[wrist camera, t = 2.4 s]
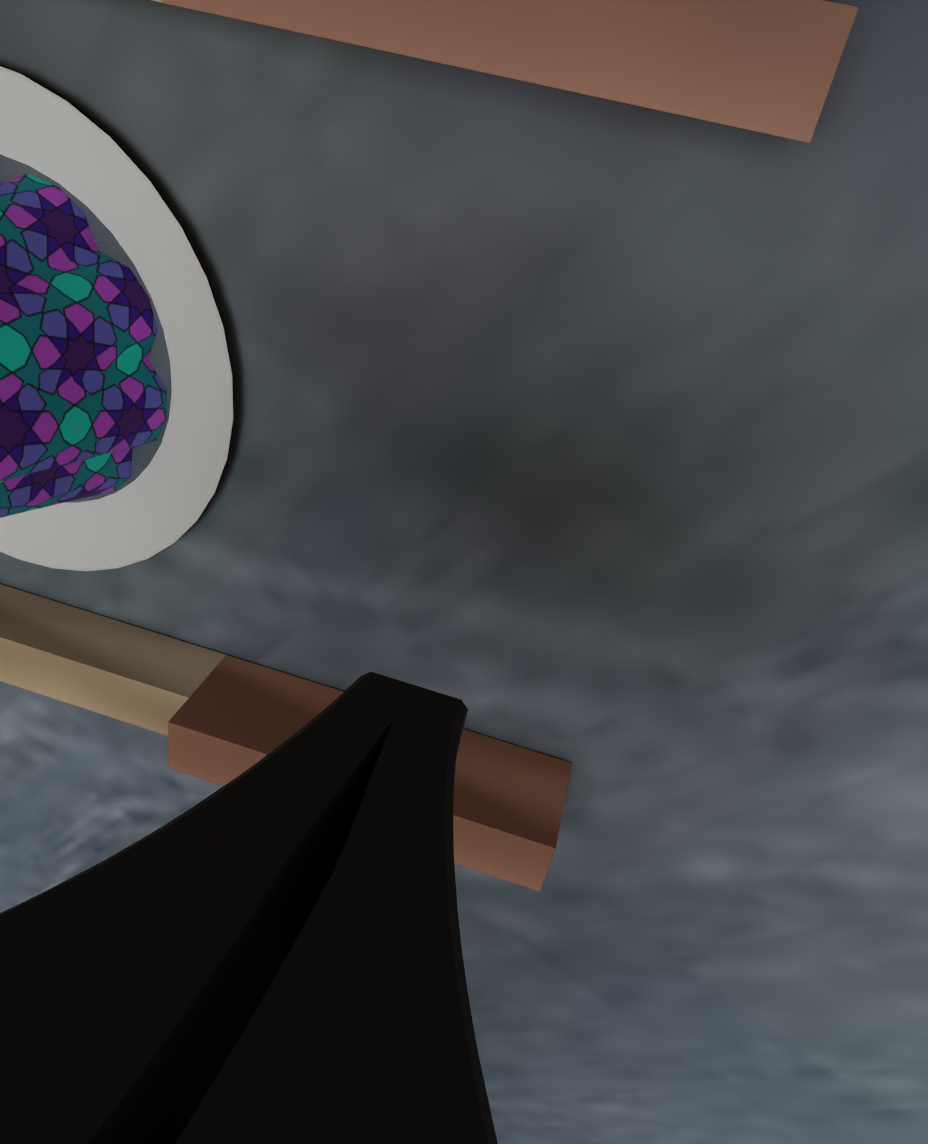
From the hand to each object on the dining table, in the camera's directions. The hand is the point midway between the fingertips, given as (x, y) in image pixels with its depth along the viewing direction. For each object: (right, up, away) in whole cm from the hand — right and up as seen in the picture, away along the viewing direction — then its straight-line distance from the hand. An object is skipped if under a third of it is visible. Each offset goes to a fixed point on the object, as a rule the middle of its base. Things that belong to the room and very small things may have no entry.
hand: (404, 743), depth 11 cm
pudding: (-10, +8, +10) cm, 16 cm away
